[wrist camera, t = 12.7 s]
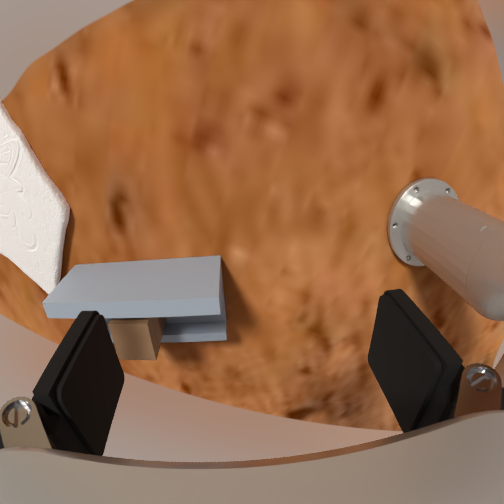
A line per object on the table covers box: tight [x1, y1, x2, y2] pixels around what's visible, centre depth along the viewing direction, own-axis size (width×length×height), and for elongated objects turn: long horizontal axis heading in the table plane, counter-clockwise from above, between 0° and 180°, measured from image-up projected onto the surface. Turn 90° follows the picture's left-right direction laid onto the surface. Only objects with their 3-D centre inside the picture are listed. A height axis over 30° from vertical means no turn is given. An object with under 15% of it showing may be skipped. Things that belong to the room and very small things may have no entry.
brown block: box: [108, 317, 167, 360], centre depth 36 cm, size 4×6×8 cm
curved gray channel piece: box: [42, 255, 227, 343], centre depth 36 cm, size 20×10×10 cm, turn 92°
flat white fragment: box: [0, 97, 70, 294], centre depth 33 cm, size 21×4×25 cm
